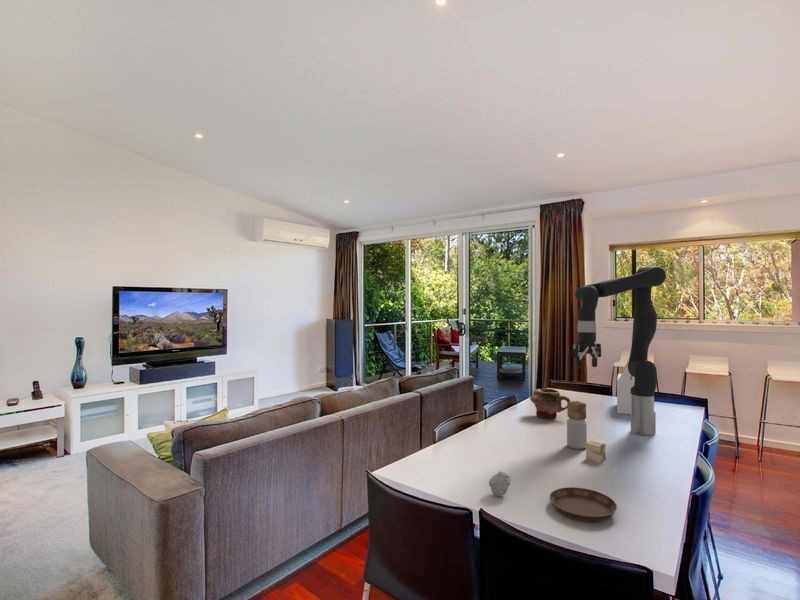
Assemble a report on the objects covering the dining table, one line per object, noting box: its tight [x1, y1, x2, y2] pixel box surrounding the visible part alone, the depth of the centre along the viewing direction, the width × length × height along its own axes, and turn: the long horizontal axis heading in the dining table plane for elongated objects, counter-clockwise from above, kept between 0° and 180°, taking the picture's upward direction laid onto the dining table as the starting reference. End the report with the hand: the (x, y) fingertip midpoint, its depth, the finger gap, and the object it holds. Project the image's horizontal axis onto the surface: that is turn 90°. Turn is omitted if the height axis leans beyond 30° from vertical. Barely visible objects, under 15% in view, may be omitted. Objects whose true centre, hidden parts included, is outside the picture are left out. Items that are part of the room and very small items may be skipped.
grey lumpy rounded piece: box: [488, 470, 512, 497], centre depth 130 cm, size 6×7×7 cm
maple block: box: [585, 439, 607, 463], centre depth 160 cm, size 5×5×6 cm
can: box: [566, 417, 588, 450], centre depth 173 cm, size 8×8×12 cm
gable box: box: [616, 358, 635, 415], centre depth 231 cm, size 22×13×28 cm, turn 151°
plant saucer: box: [549, 486, 618, 524], centre depth 121 cm, size 18×18×3 cm
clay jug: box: [529, 388, 571, 421], centre depth 216 cm, size 20×12×14 cm, turn 60°
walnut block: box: [566, 400, 587, 420], centre depth 173 cm, size 5×5×6 cm
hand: (586, 367), depth 188 cm, fingers open, 8 cm apart
